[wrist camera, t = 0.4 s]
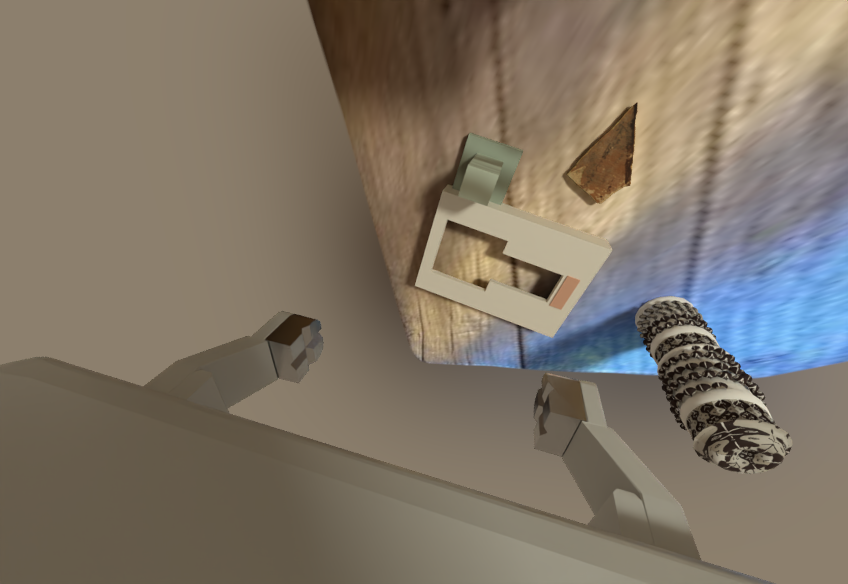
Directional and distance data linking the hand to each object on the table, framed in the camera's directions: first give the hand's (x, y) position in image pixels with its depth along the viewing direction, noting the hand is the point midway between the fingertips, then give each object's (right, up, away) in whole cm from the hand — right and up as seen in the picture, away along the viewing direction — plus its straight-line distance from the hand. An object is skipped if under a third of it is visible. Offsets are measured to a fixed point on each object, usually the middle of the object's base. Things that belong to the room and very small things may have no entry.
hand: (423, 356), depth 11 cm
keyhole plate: (+14, +8, +44) cm, 47 cm away
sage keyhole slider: (+10, +21, +37) cm, 44 cm away
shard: (+24, +21, +33) cm, 46 cm away
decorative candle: (+40, -2, +42) cm, 58 cm away
